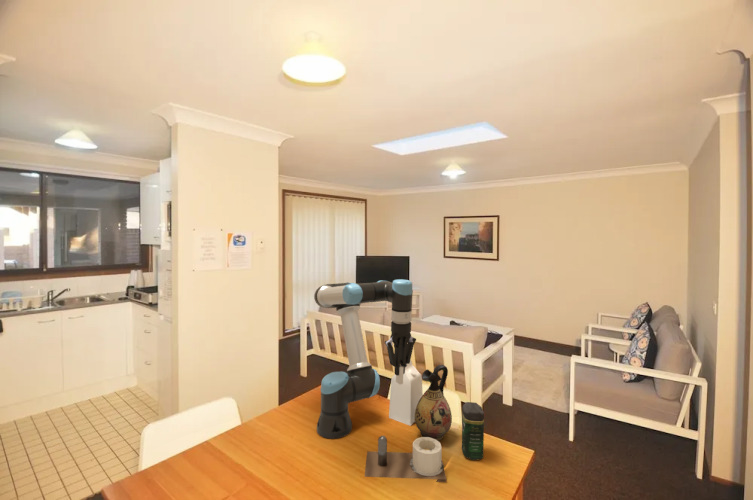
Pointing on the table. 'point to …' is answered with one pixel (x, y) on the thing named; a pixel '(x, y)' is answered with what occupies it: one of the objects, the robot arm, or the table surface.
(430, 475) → the hub
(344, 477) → the table surface
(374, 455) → the board
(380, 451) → the stand rod
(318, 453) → the table surface
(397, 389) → the milk
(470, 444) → the coffee jar
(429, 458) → the ring
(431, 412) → the ceramic jug
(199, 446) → the table surface
